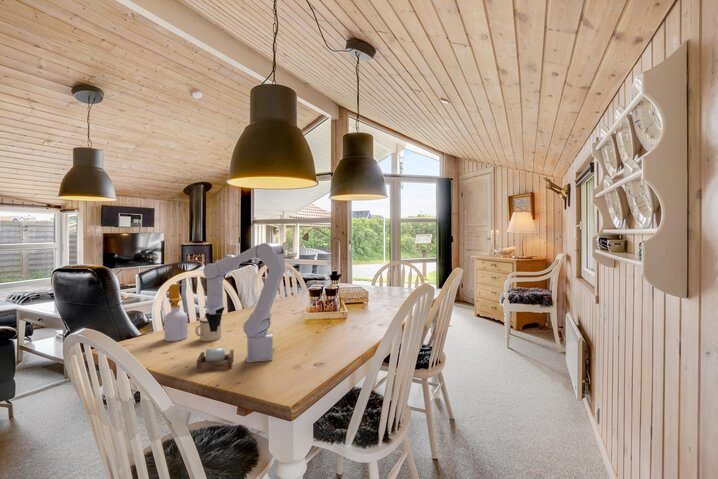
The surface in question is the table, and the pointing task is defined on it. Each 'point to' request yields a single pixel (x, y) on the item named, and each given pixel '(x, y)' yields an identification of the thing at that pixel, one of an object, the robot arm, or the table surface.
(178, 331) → the soap bottle
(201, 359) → the holder
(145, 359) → the table surface
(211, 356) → the roll
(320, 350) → the table surface
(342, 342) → the table surface
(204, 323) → the beige mug
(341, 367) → the table surface
